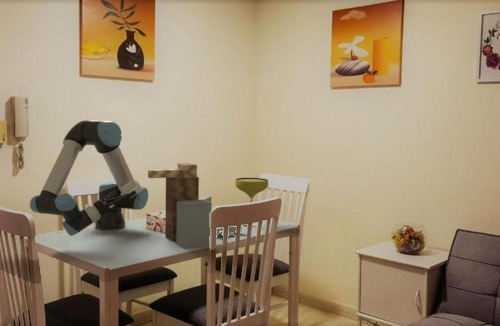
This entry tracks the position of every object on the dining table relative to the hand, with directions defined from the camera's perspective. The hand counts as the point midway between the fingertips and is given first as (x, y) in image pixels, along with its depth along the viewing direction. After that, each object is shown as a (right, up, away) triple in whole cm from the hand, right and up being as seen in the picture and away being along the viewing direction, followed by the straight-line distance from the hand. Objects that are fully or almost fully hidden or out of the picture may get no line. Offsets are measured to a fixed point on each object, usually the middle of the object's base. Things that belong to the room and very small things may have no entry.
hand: (136, 185), depth 252 cm
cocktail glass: (+53, -24, +48) cm, 75 cm away
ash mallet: (+15, +4, +8) cm, 17 cm away
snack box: (+26, -24, +42) cm, 55 cm away
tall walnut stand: (+19, -26, +13) cm, 35 cm away
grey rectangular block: (+26, -27, 0) cm, 38 cm away
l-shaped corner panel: (+42, -27, +20) cm, 54 cm away
